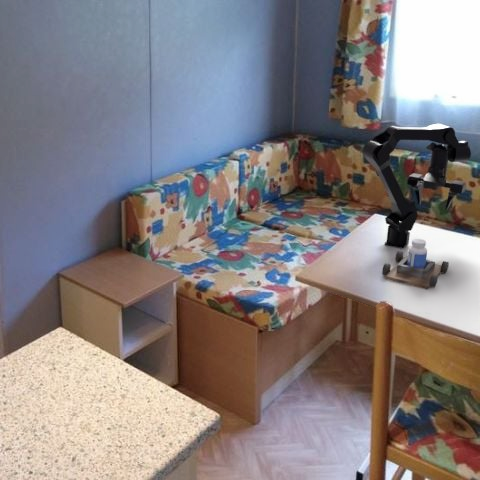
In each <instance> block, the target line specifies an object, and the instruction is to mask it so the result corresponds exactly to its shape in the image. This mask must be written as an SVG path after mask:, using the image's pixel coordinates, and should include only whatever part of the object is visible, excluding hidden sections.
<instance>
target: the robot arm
mask: <svg viewBox="0 0 480 480" xmlns="http://www.w3.org/2000/svg"><path fill="white" fill-rule="evenodd" d="M400 141H430V142H431V143H430V144H428V145H427V146H426V147H425V149H426V150H429V151H431V153H430V160H429V166H428V170H427V172H426V174H425V176H423V174H422V173H421V174H420V173H415V172H413V173H411V174H410V175H408V176H407V177H406V182H405V183H406V185H407V186H409V187H410V188H411V189H413V190H414V193H415V196H416V199H417V200H416V201H417V204H418V206H421V203H422V199H423V198H422V197H423V189H427V190H428V189H429V190H432V191H437V190H438V189H439V187H440V188H445V189H446V188H447V189H449V190H450V191H449V192H448V193H447V194H448V196H447V200H446V203H445V211H447V210H448V209H449V207H450V205H451V203H452V202H453V200H454V198H455V197H456V196H458V195H460V194H463V193H464V192H465V191H466V189H467V183H466V182H465V181H463V180H462V181H461V180H456V179H454V180H452V182H451V181H450V182H449V181H447V171H448V168H449V165H448V164H449V162H451V163H459V162H467V161H469V160H470V158H471V157H472V156H471V155H472V152H471V148H470V146H469V142H468V141H467V140H460V141H459V140H458V137H456V131H455V129H454V127H452V126H448V125H446V124H442V123H435V124H430V125H428V126H422V127H419V126H418V127H417V126H395V125H390V126H388V127H387V128H386V129H385V130H384V131H382V132H381V133H379V134H377V135H375V136H374V137H373V138H371V140H369V141H367V142H366V143H365V144H364V146H363V149H362V152H361V153H362V154H363V157H364V158H365V159H366V160H367V162H368V163H369V164H370V165H371V166H372V167H373V168H374V169H375V171H376V173H377V175H378V176H379V178H380V180H381V183H382V185H383V187H384V189H385V191H386V193H387V195H388V199H390V203H391V206H390V210H391V211H390V213H389V214H388V215H386V217H384V219H385V223H386V224H387V225H388V226H387V232H386V233H387V234H386V241H385V242H384V245H386V246H391V247H395V248H400V249H404V248H406V246H407V245H408V244H409V243H410V234H411V233H410V232H411V231H412V230H413V228H414V225H415V223H416V221H417V219H418V217H419V213H418V212H419V209H418V208H417V206H416V203H415V201H414V200H412V199H410V198H408V197H406V196H405V194H404V193H403V190H402V188H401V186H400V184H399V182H398V180H397V178H396V176H395V173H394V172H393V169H392V167H391V156H390V155H391V154H392V153H393V152H394V150H395V148H396V147H397V145H398V143H399V142H400Z"/></svg>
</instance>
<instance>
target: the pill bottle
mask: <svg viewBox="0 0 480 480" xmlns="http://www.w3.org/2000/svg"><path fill="white" fill-rule="evenodd" d="M411 241H412V242H411V246H409V248H408V254H407V256H408V262H407V266H411V267H416V268H420V269H425V265H426V260H427V257H428V256H427V255H428V249H427V248H426V245H427V242H426V240H424V239H421V238H414V239H412V240H411Z"/></svg>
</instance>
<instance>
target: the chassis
mask: <svg viewBox="0 0 480 480" xmlns="http://www.w3.org/2000/svg"><path fill="white" fill-rule="evenodd" d="M394 261H395V263H396V264H395V265H394V266H393V268H391V267H392V266H391V264H390V263H387V262H385V263H384V264H383V266H382V270H381V274H382V276H384V280H387V281H391V282H396V283H400V284H404V285H408V286H413V287H414V288H415V287H416V288H420V289H424V290H428V289H429V288H430V287H432V288H436V286H437V283H438V279H439V276H440V275H441V273H442V274H447V273H448V268H449V264H450V263H449V261H442V262H441V264H438V263H436V261H434V260H430V259H429V260H428V259H426V265H425V269H420V268H416V267H411V266H407V262H408V255H406V256H404V251H400V250H397V252H396V254H395V258H394Z"/></svg>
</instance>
